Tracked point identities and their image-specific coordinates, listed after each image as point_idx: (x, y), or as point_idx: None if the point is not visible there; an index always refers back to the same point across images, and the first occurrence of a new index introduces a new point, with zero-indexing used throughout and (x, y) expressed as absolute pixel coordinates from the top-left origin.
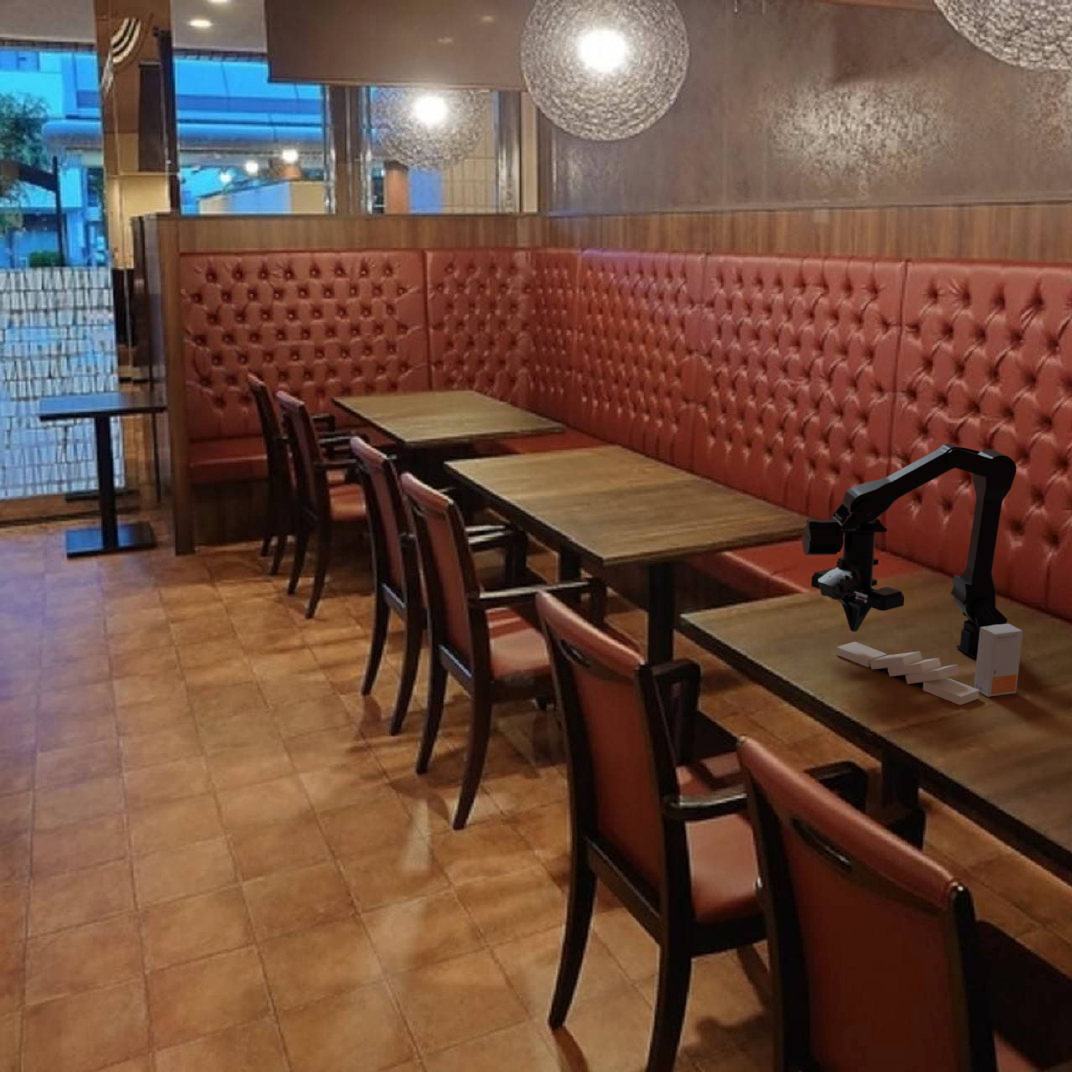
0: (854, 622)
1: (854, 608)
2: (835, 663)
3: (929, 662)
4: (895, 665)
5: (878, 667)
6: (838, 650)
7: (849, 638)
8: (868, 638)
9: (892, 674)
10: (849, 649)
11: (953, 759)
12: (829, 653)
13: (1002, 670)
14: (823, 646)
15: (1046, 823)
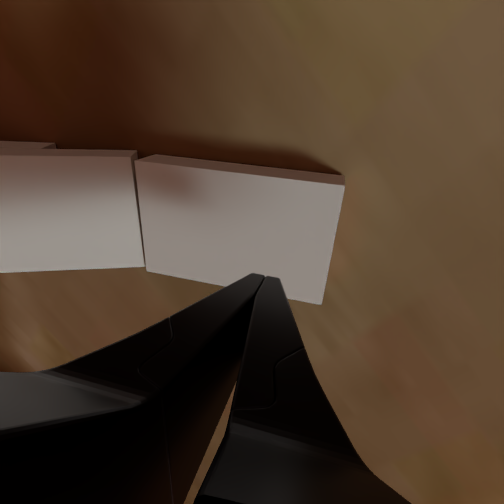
0: (211, 298)
1: (105, 385)
2: (278, 72)
3: None
4: None
5: (91, 150)
6: (331, 180)
7: (411, 369)
8: (351, 400)
9: (33, 142)
10: (274, 204)
11: None
12: (384, 168)
13: None
14: (464, 226)
15: None
